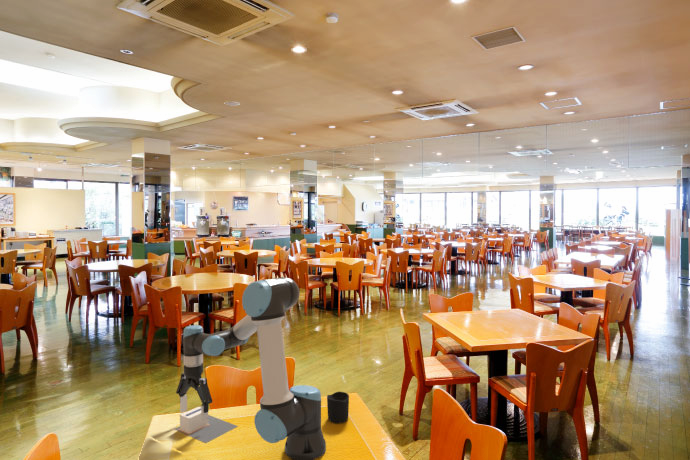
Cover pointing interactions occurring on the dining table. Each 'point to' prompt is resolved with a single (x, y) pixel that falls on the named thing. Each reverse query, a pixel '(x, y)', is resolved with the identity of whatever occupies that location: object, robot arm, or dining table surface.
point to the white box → (192, 420)
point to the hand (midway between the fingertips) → (194, 415)
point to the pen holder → (338, 407)
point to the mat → (210, 430)
